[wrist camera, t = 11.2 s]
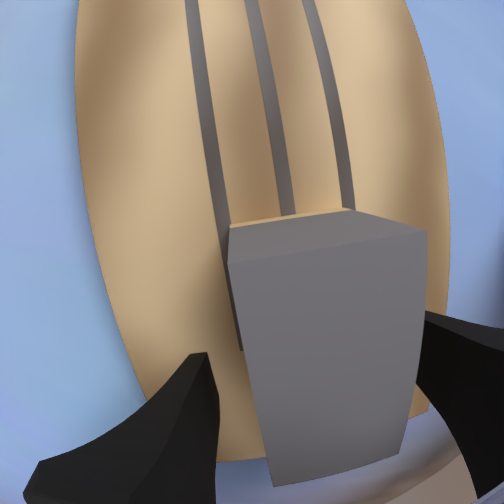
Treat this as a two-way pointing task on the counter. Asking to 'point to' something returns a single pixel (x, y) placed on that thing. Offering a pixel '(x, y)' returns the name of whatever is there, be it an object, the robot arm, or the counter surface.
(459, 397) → the robot arm
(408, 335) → the block
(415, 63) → the board
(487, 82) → the counter surface
